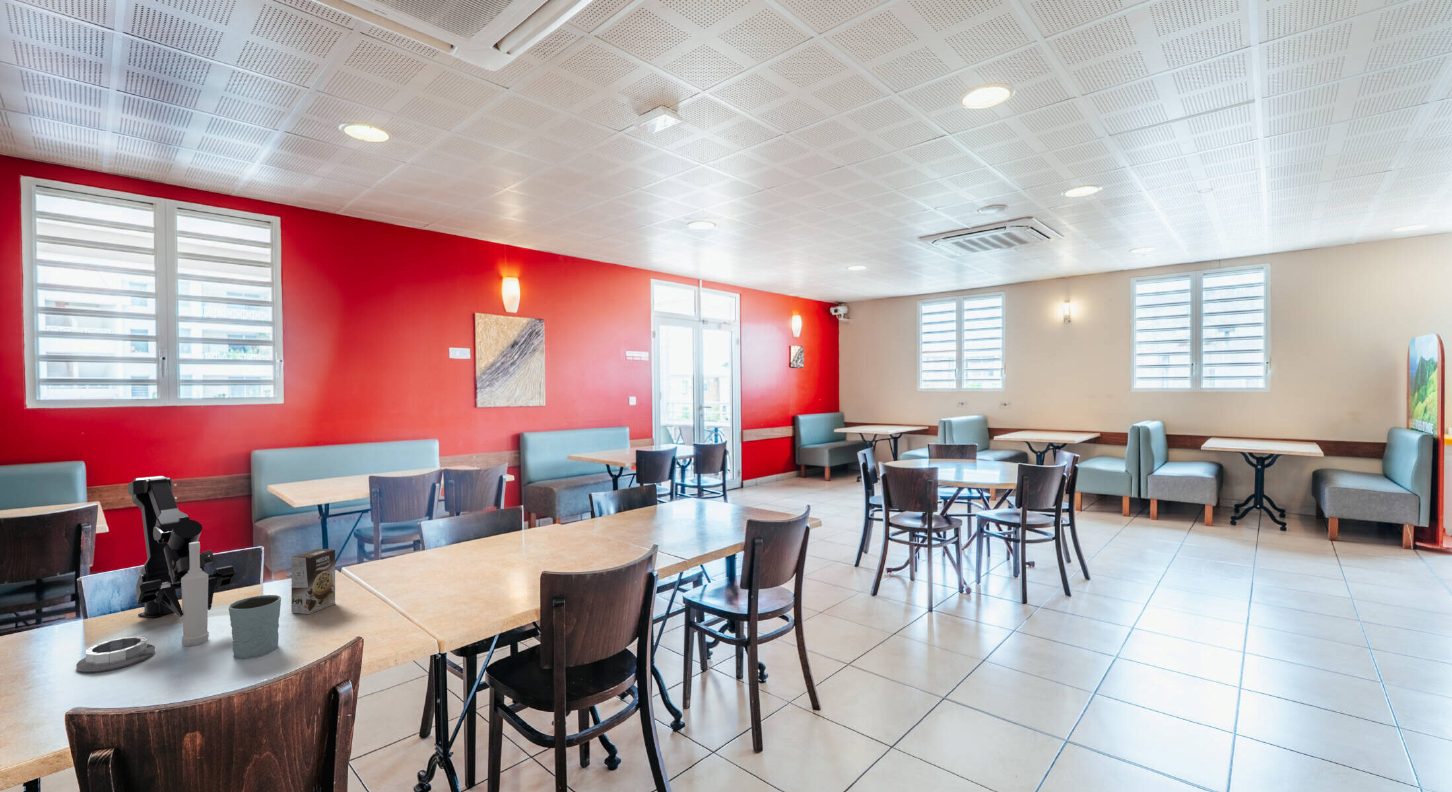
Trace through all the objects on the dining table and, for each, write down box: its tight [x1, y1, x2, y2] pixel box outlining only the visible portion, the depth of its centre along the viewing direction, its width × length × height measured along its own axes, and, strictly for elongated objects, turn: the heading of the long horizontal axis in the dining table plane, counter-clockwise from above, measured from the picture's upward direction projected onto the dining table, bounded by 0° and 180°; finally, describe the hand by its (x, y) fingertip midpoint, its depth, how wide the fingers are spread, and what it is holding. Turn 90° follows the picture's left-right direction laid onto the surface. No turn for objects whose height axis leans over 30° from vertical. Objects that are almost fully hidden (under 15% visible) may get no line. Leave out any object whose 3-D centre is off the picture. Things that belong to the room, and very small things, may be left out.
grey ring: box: [75, 635, 156, 674], centre depth 142 cm, size 13×13×4 cm
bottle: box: [180, 541, 210, 647], centre depth 152 cm, size 5×5×25 cm
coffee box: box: [290, 548, 336, 615], centre depth 176 cm, size 9×6×16 cm
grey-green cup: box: [228, 594, 282, 659], centre depth 148 cm, size 10×10×12 cm
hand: (195, 612), depth 152 cm, fingers closed on bottle, 5 cm apart
